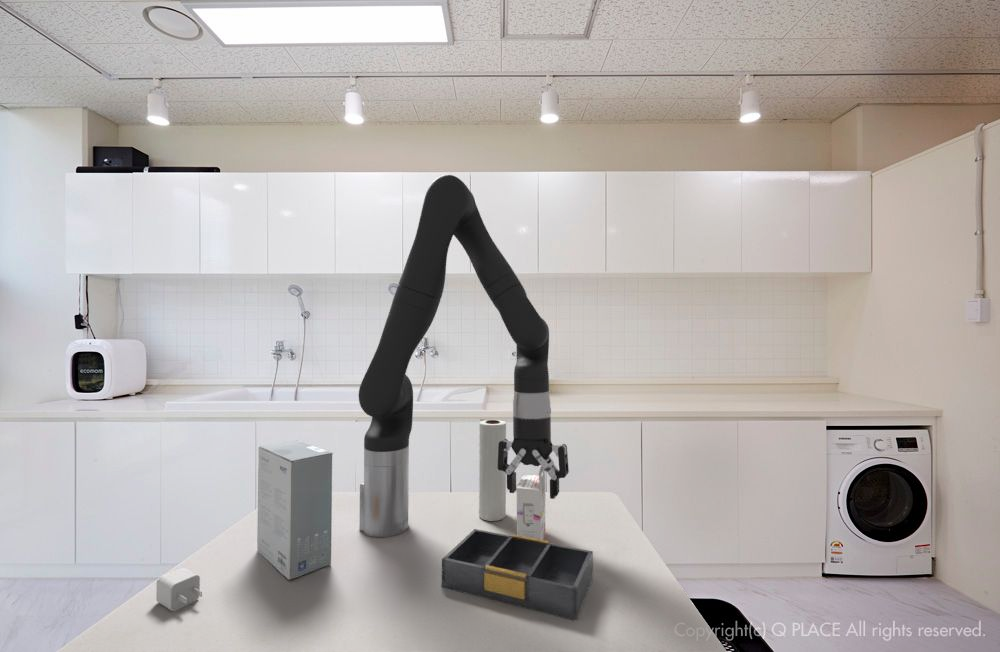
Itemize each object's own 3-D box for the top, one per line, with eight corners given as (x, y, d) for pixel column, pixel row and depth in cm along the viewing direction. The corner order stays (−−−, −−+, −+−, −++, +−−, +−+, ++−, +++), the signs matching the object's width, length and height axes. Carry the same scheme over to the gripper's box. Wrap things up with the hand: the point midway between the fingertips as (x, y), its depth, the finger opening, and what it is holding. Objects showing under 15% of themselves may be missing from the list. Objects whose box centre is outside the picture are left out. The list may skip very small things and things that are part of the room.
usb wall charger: (185, 591, 72) (185, 566, 72) (208, 604, 69) (208, 578, 69) (156, 604, 69) (156, 577, 69) (179, 618, 65) (179, 590, 65)
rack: (440, 588, 73) (440, 558, 73) (474, 553, 85) (474, 527, 85) (575, 622, 64) (575, 588, 65) (592, 578, 76) (592, 549, 76)
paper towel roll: (505, 522, 99) (506, 424, 99) (478, 521, 99) (478, 424, 99) (505, 509, 106) (506, 417, 106) (479, 509, 106) (480, 417, 106)
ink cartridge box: (522, 529, 95) (522, 459, 95) (545, 531, 94) (546, 461, 94) (515, 548, 86) (515, 471, 87) (541, 551, 86) (541, 473, 86)
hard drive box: (333, 565, 80) (334, 452, 80) (288, 582, 75) (290, 461, 75) (296, 537, 91) (297, 438, 91) (255, 551, 85) (256, 445, 85)
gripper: (491, 414, 90) (492, 496, 90) (561, 419, 84) (562, 506, 84) (505, 408, 97) (506, 484, 96) (571, 412, 91) (572, 493, 91)
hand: (532, 494), depth 90 cm, fingers open, 8 cm apart
